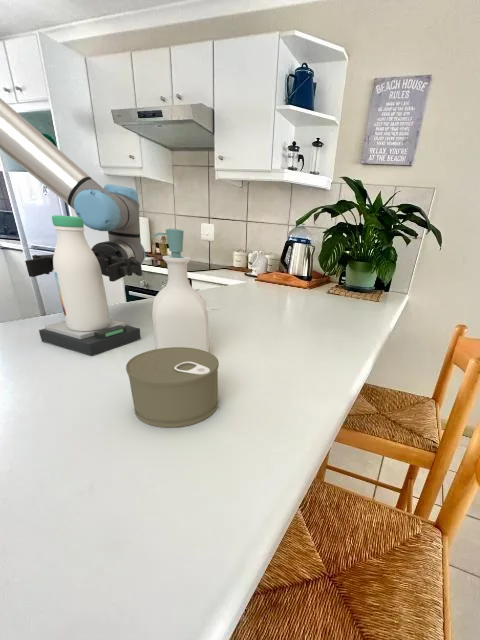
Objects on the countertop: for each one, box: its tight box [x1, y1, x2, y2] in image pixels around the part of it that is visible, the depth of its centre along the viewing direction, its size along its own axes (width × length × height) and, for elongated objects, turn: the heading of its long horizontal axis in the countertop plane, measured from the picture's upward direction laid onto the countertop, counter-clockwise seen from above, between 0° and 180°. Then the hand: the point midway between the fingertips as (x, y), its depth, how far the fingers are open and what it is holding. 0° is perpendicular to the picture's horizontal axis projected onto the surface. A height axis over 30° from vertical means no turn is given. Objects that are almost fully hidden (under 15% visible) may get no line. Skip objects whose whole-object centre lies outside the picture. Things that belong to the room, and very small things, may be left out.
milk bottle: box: [51, 214, 111, 331], centre depth 61 cm, size 8×8×20 cm
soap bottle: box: [150, 228, 210, 353], centre depth 59 cm, size 10×10×23 cm
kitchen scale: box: [38, 319, 142, 357], centre depth 67 cm, size 14×12×3 cm
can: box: [125, 347, 220, 429], centre depth 46 cm, size 12×12×7 cm
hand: (70, 271), depth 58 cm, fingers open, 13 cm apart
